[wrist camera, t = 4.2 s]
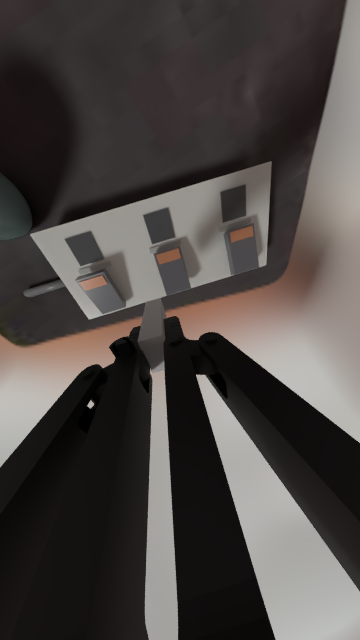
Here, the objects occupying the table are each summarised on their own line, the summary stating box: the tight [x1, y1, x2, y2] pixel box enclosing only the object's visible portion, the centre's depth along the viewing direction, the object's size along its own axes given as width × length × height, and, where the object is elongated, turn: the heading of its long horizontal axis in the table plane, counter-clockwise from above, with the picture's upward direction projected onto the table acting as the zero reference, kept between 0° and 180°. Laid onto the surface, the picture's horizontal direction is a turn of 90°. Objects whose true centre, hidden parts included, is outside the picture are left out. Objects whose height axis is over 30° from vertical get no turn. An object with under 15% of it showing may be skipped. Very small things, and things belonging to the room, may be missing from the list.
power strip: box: [23, 161, 272, 319], centre depth 20 cm, size 12×39×4 cm, turn 105°
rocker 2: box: [153, 245, 191, 295], centre depth 19 cm, size 6×4×1 cm, turn 15°
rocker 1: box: [75, 268, 126, 314], centre depth 19 cm, size 6×4×1 cm, turn 15°
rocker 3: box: [223, 223, 259, 275], centre depth 19 cm, size 6×4×1 cm, turn 15°
